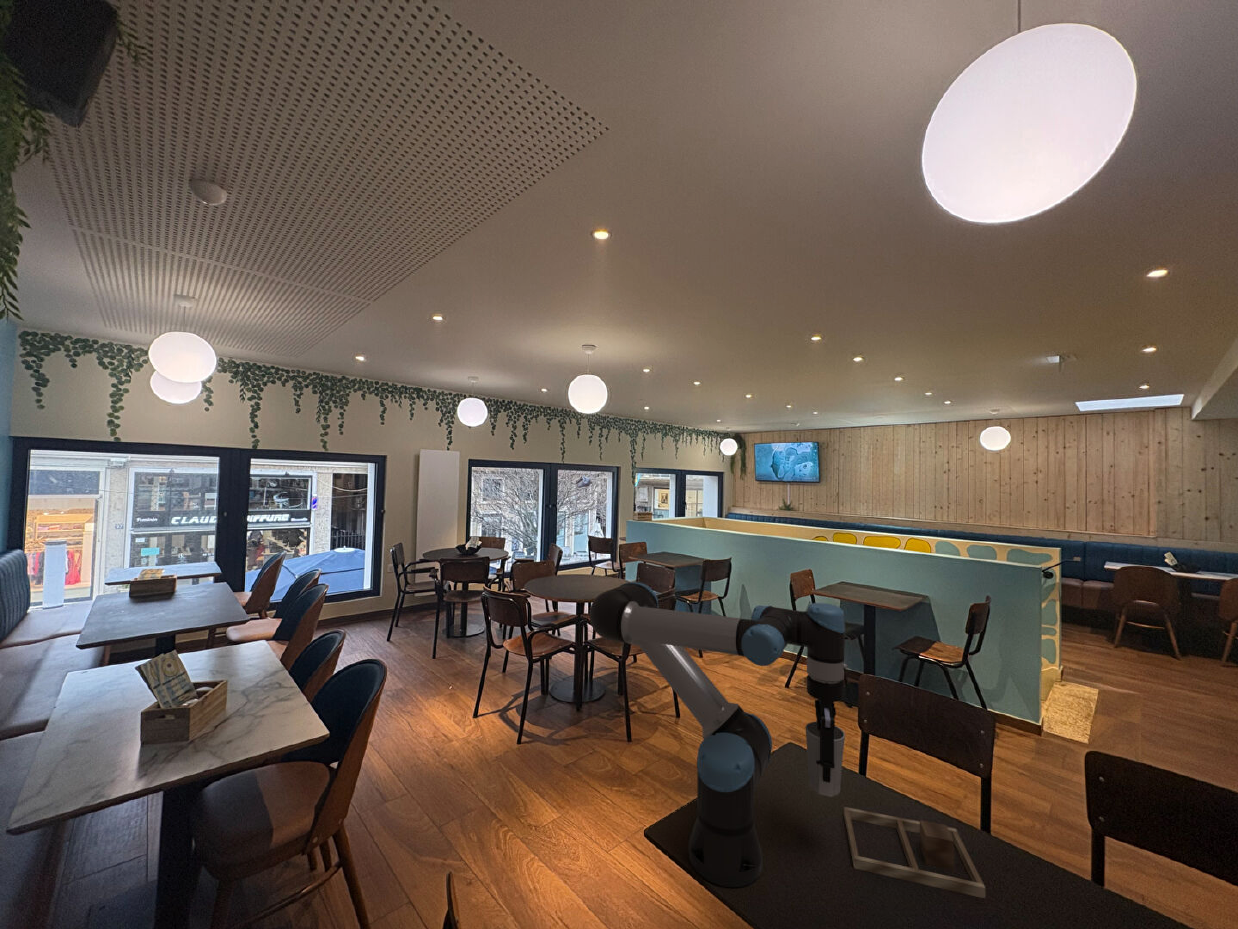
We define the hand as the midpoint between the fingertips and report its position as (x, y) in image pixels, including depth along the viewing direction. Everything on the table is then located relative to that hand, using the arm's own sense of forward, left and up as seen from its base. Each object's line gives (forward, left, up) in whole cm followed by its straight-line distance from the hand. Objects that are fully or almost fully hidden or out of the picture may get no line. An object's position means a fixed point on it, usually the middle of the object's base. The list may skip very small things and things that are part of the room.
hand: (824, 783), depth 108 cm
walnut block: (+22, +5, -14) cm, 27 cm away
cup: (0, 0, -1) cm, 1 cm away
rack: (+17, +5, -14) cm, 23 cm away
